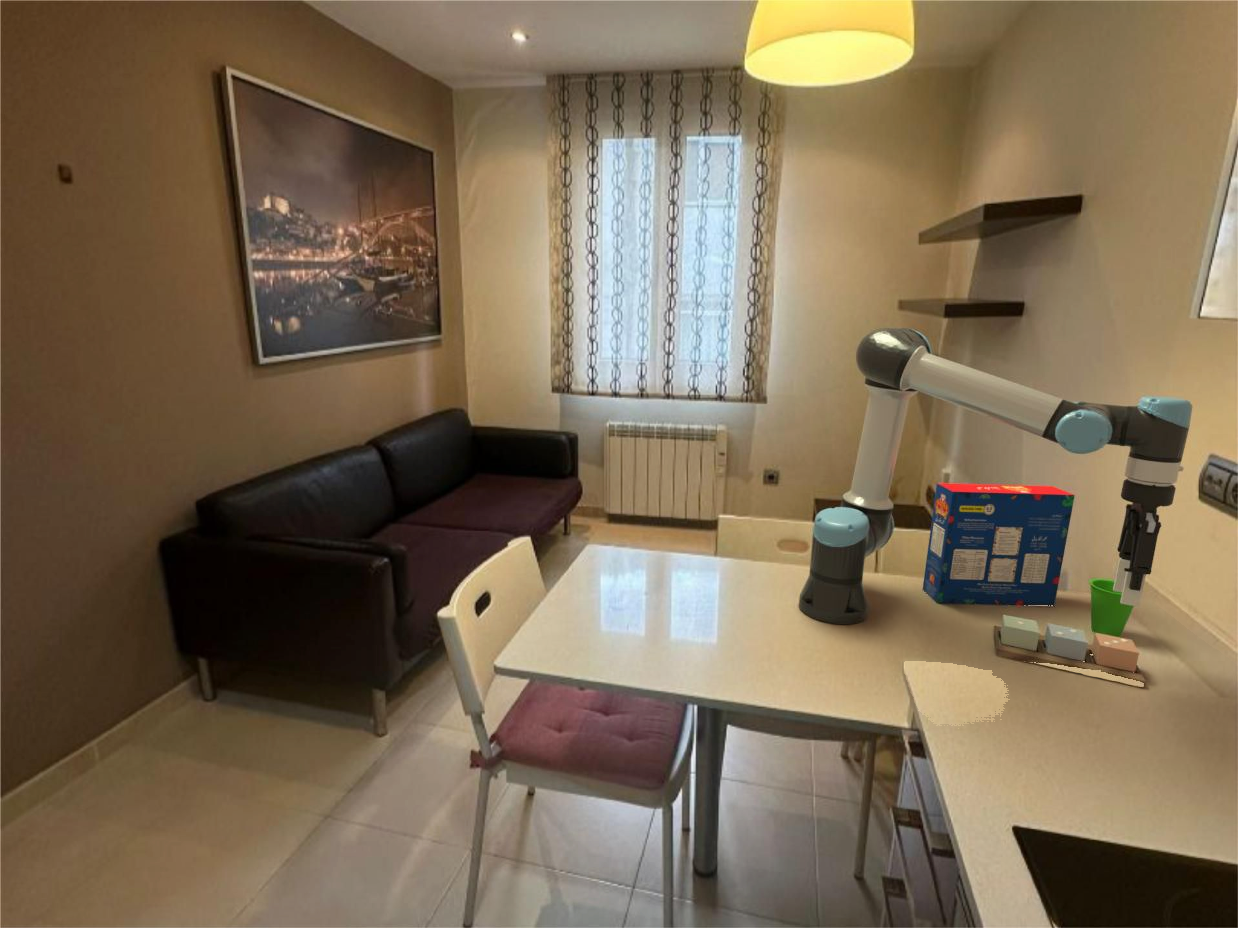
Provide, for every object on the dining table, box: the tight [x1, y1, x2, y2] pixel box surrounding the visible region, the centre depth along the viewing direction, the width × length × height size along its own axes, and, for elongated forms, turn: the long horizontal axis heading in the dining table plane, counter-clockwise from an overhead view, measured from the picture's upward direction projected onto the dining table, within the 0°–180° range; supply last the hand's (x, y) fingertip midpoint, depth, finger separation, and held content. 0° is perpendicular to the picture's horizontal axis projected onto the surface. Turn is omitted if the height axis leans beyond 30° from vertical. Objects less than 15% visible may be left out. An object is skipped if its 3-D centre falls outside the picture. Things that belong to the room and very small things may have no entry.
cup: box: [1088, 578, 1135, 637], centre depth 140 cm, size 9×9×11 cm
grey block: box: [1044, 622, 1089, 662], centre depth 129 cm, size 6×6×4 cm
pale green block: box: [1000, 614, 1040, 652], centre depth 132 cm, size 6×6×4 cm
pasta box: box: [922, 482, 1075, 607], centre depth 155 cm, size 28×8×28 cm, turn 89°
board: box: [993, 624, 1146, 685], centre depth 129 cm, size 24×12×2 cm, turn 62°
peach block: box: [1091, 633, 1140, 672], centre depth 125 cm, size 6×6×4 cm
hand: (1125, 597), depth 123 cm, fingers open, 6 cm apart
